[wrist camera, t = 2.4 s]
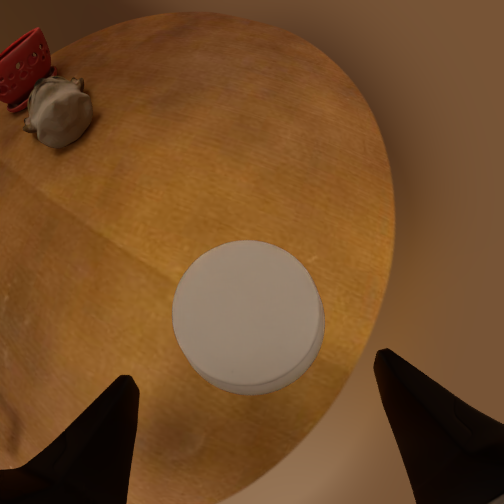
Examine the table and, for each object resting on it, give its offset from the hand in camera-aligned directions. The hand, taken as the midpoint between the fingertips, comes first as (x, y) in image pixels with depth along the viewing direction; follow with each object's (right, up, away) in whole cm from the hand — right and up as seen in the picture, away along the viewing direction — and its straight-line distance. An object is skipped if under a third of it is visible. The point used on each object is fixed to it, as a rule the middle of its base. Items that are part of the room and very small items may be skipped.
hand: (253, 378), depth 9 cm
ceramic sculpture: (-24, +21, +19) cm, 37 cm away
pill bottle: (0, -1, +10) cm, 10 cm away
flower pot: (-39, +33, +25) cm, 57 cm away
